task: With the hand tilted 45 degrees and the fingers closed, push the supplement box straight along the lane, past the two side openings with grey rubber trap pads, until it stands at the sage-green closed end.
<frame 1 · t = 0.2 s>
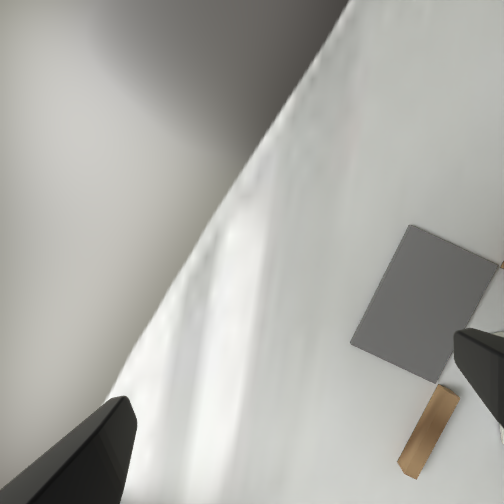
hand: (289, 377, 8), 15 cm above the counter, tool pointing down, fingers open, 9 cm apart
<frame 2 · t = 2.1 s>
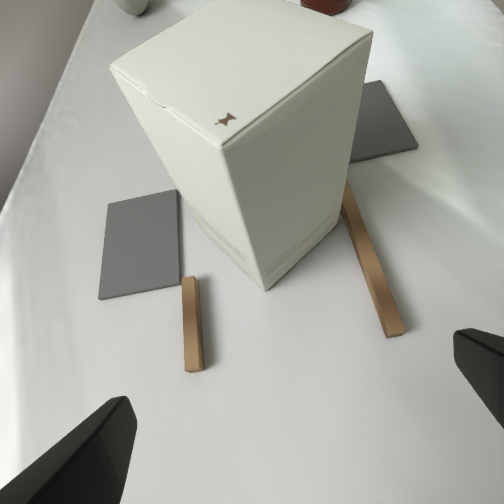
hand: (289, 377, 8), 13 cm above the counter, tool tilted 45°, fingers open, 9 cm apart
lane: (260, 190, 28), on the counter
trap pads: (260, 190, 28), on the counter
mug: (321, 13, 41), on the counter
donut: (142, 13, 49), on the counter
supplement box: (267, 227, 27), on the counter
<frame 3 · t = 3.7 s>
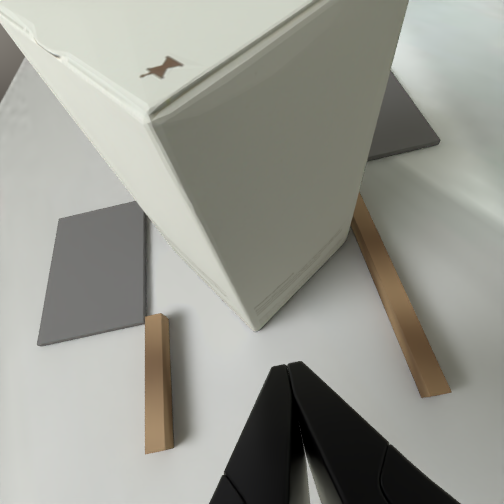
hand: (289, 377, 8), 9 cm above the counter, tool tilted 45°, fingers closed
lane: (247, 199, 23), on the counter
trap pads: (247, 199, 23), on the counter
supplement box: (257, 245, 21), on the counter
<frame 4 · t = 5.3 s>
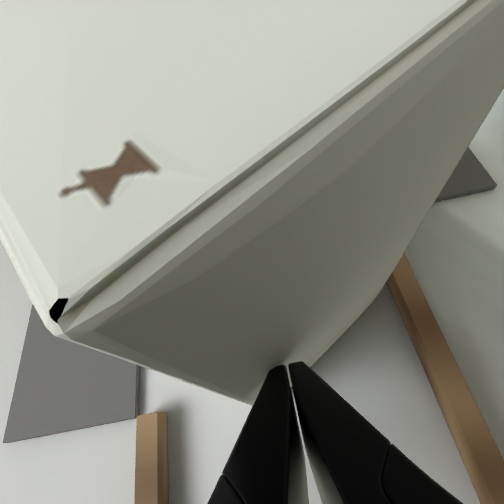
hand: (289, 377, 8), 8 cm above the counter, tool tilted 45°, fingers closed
lane: (263, 252, 19), on the counter
trap pads: (263, 252, 19), on the counter
supplement box: (270, 293, 18), on the counter, touching gripper
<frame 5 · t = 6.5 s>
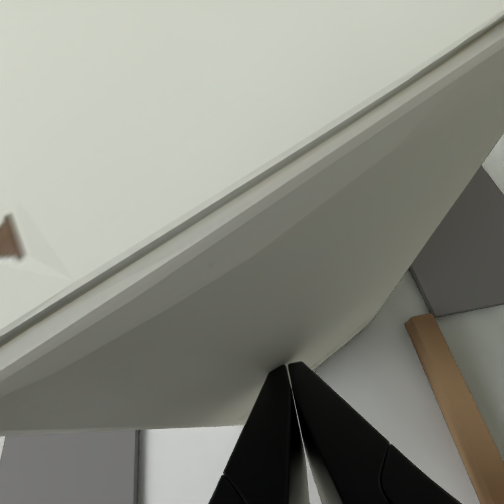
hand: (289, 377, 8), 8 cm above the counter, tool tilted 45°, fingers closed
lane: (287, 367, 16), on the counter
trap pads: (287, 367, 16), on the counter
supplement box: (262, 305, 18), on the counter, touching gripper
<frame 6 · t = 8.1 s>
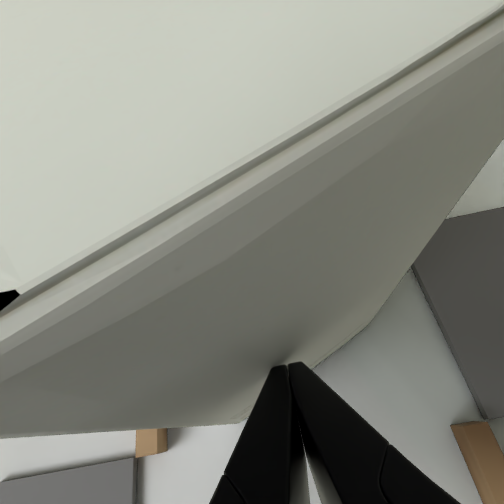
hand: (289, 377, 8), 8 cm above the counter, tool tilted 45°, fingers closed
lane: (311, 478, 13), on the counter
trap pads: (311, 478, 13), on the counter
supplement box: (260, 304, 17), on the counter, touching gripper, lane
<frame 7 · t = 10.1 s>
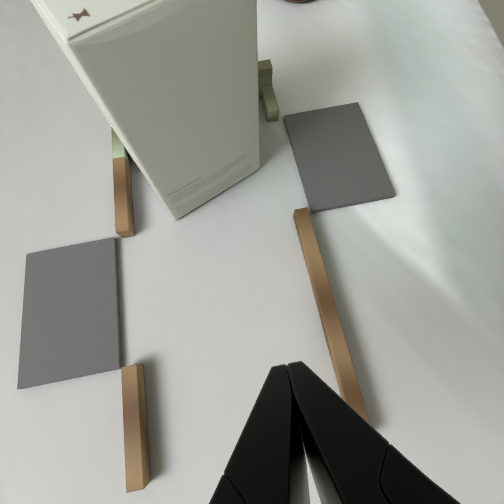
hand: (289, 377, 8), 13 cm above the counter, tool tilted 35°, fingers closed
lane: (216, 242, 24), on the counter
trap pads: (216, 242, 24), on the counter
supplement box: (194, 161, 27), on the counter
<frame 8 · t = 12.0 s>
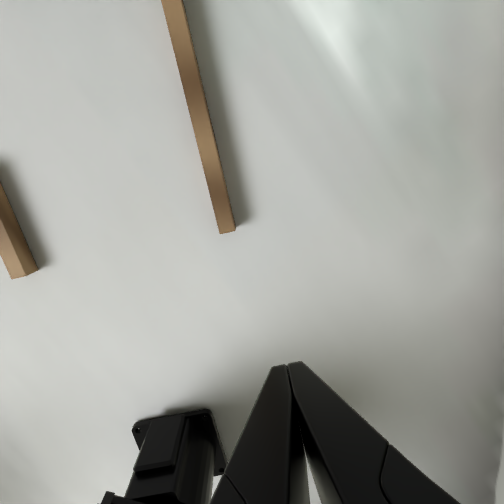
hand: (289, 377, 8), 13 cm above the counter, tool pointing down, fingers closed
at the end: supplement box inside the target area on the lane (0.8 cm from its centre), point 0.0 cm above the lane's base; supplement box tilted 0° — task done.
